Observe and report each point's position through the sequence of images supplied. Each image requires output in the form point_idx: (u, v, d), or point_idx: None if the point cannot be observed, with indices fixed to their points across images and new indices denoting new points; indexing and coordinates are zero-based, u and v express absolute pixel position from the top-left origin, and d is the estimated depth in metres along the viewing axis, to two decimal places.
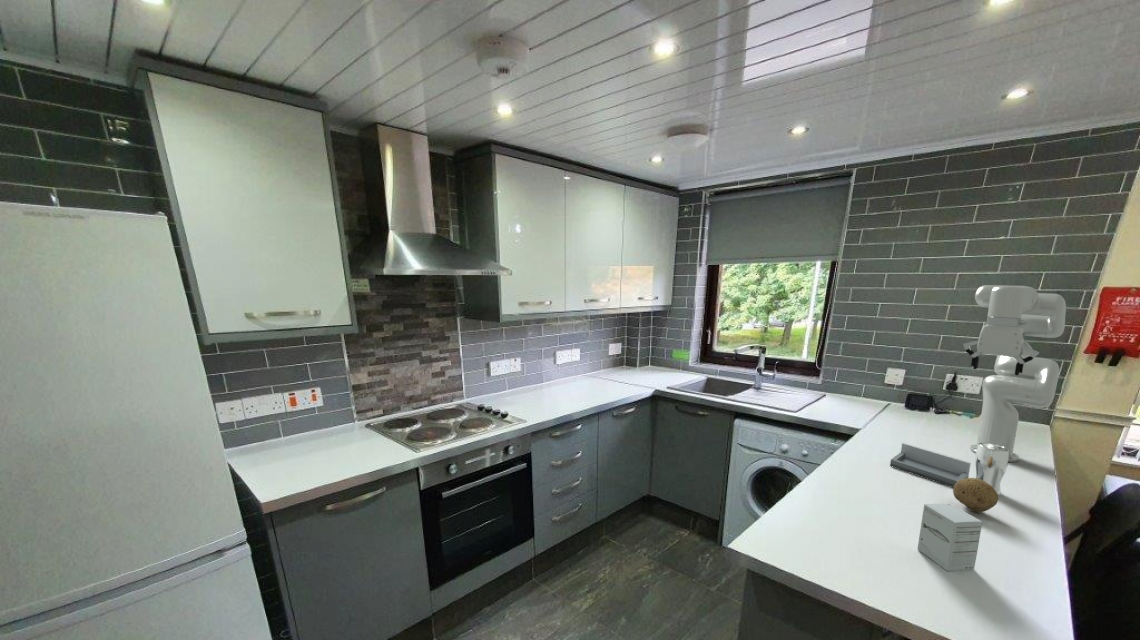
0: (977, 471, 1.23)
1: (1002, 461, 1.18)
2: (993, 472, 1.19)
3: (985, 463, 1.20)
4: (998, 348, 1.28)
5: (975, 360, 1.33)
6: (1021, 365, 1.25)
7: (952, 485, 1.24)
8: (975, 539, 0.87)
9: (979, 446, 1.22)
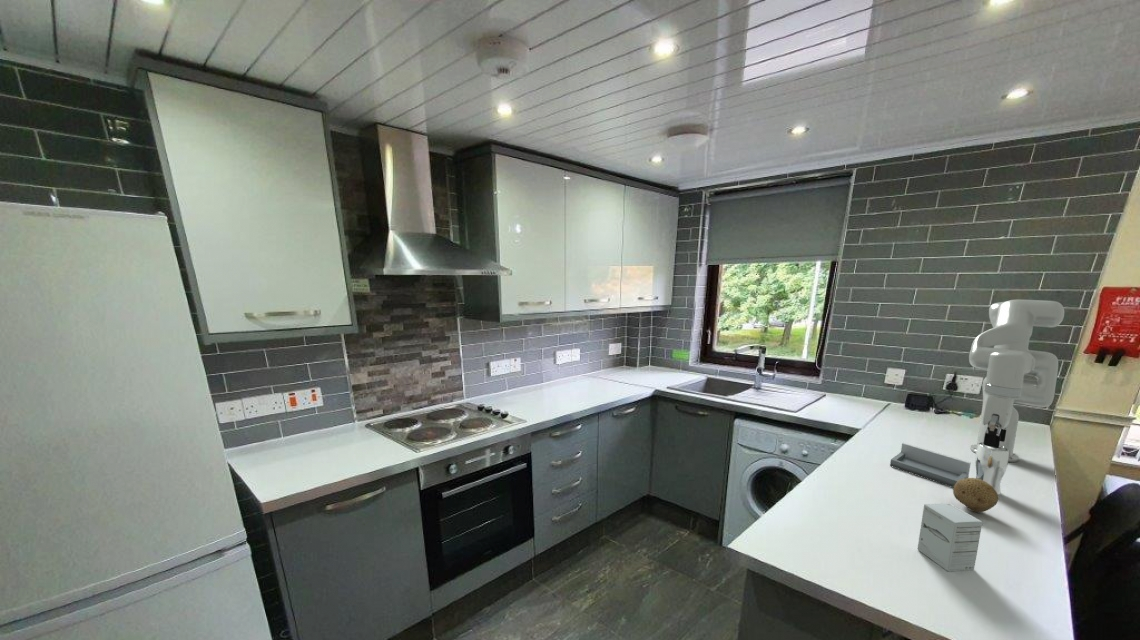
0: (977, 471, 1.23)
1: (1002, 461, 1.18)
2: (993, 472, 1.19)
3: (985, 463, 1.20)
4: (1009, 420, 1.17)
5: (1000, 438, 1.16)
6: None
7: (952, 485, 1.24)
8: (975, 539, 0.87)
9: (979, 446, 1.22)
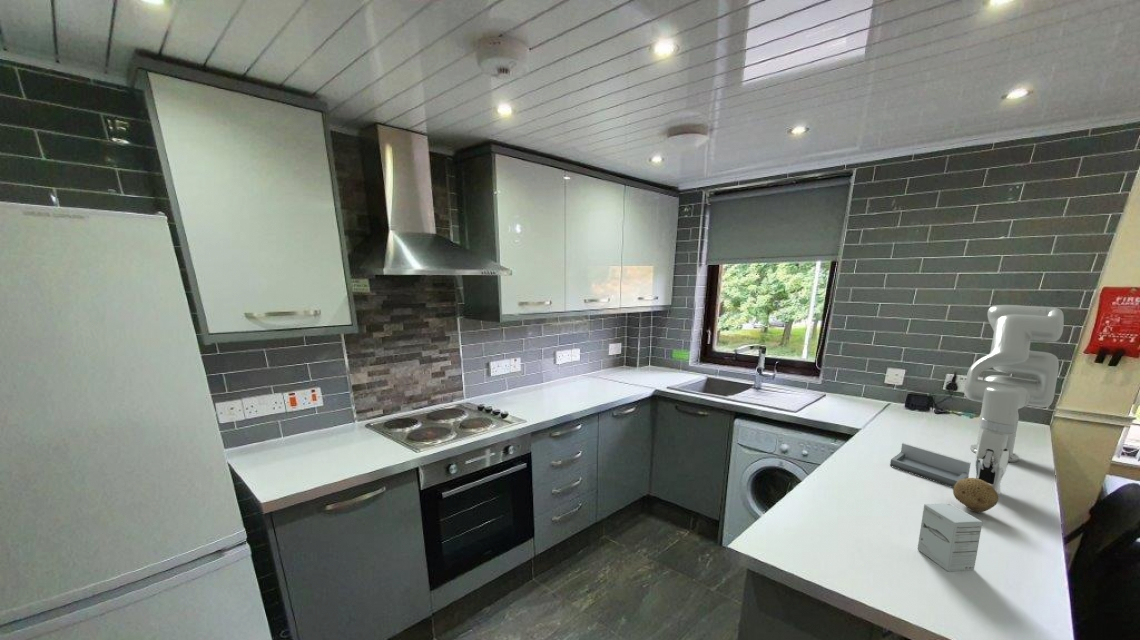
0: (977, 471, 1.23)
1: (1002, 461, 1.18)
2: None
3: None
4: None
5: (994, 475, 1.18)
6: None
7: (952, 485, 1.24)
8: (975, 539, 0.87)
9: None
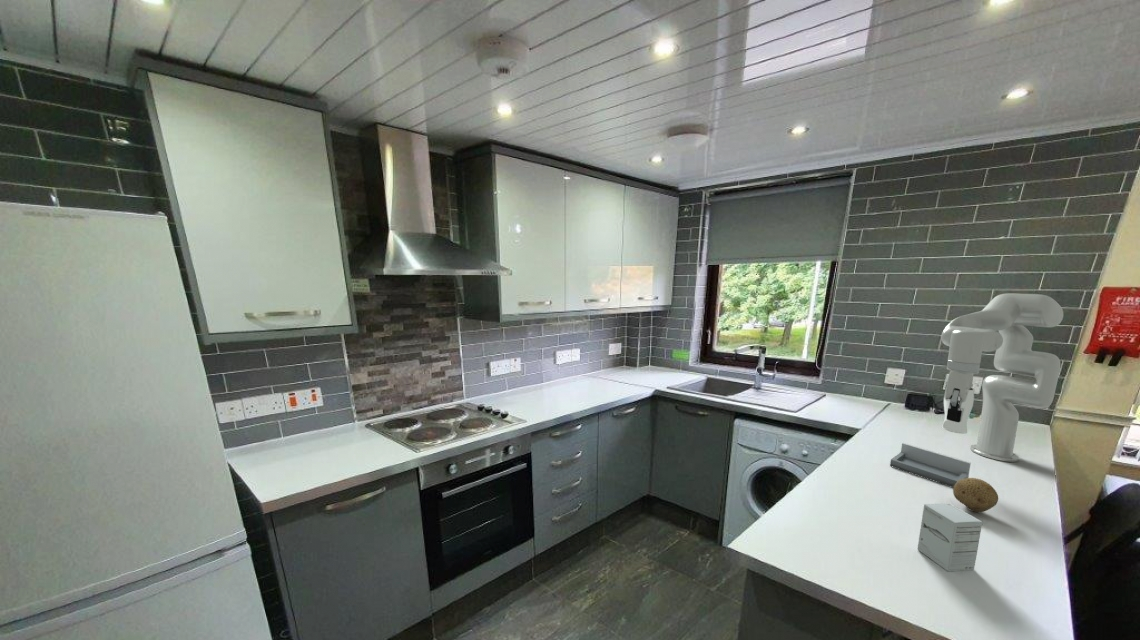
0: (945, 412, 1.28)
1: (968, 400, 1.23)
2: None
3: None
4: None
5: (961, 413, 1.24)
6: None
7: (952, 485, 1.24)
8: (975, 539, 0.87)
9: None
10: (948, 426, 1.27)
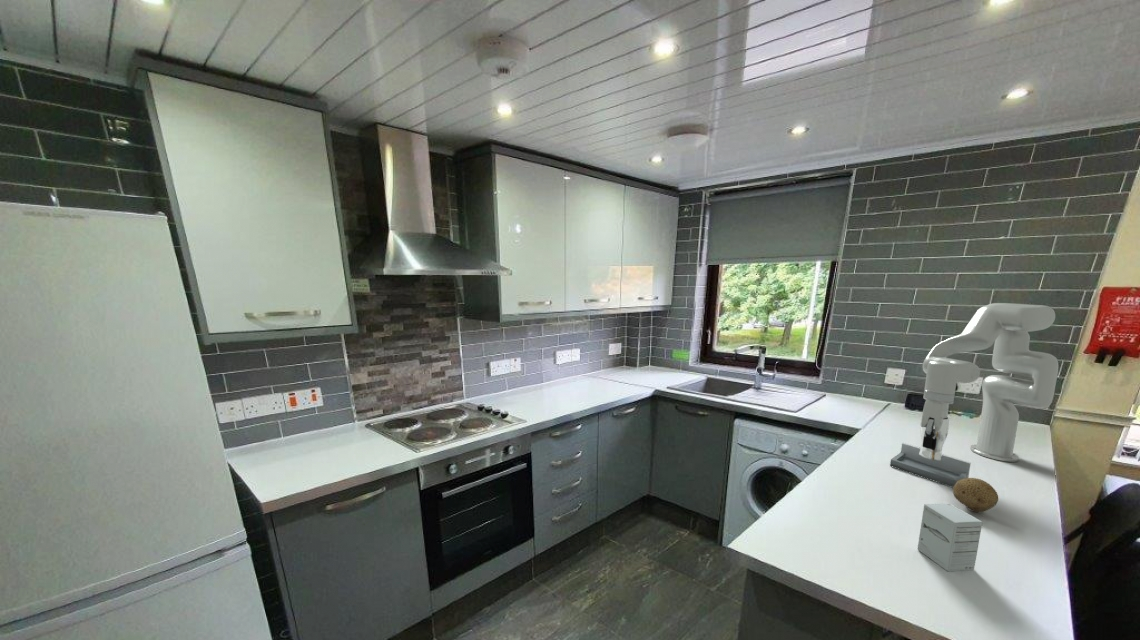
0: (922, 439, 1.33)
1: (943, 428, 1.28)
2: None
3: None
4: None
5: None
6: None
7: (952, 485, 1.24)
8: (975, 539, 0.87)
9: None
10: (924, 453, 1.32)
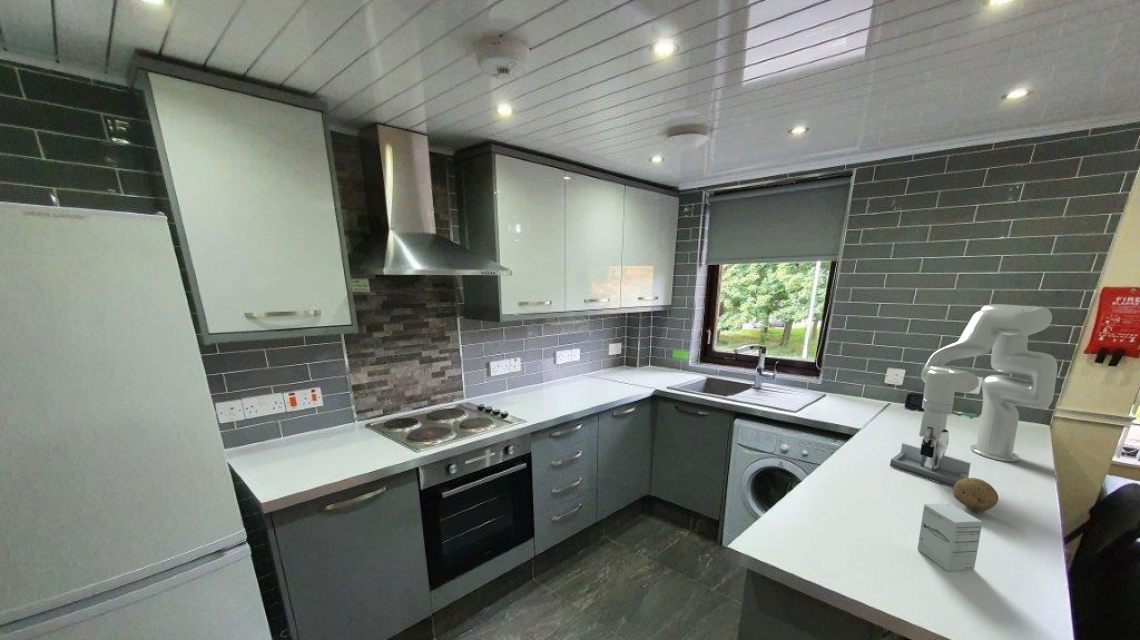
0: None
1: (943, 441, 1.29)
2: (934, 451, 1.30)
3: None
4: None
5: (933, 449, 1.28)
6: None
7: (952, 485, 1.24)
8: (975, 539, 0.87)
9: None
10: (924, 465, 1.33)
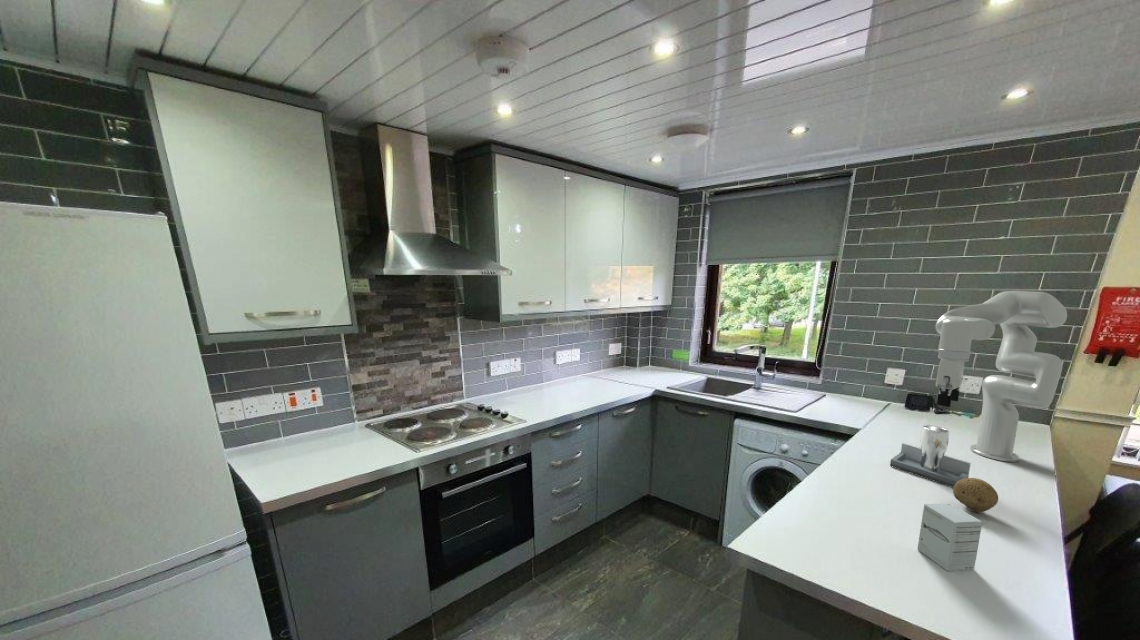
0: (922, 451, 1.34)
1: (943, 441, 1.29)
2: (934, 451, 1.30)
3: (928, 443, 1.31)
4: (960, 381, 1.28)
5: (951, 398, 1.27)
6: None
7: (952, 485, 1.24)
8: (975, 539, 0.87)
9: (923, 428, 1.33)
10: (924, 465, 1.33)
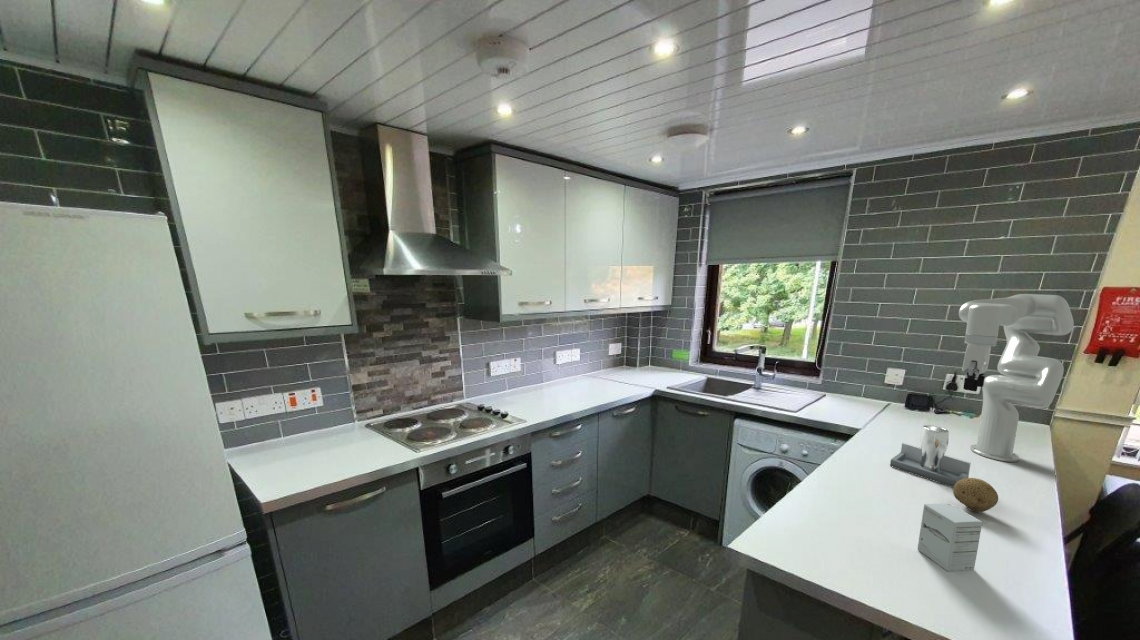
0: (922, 451, 1.34)
1: (943, 441, 1.29)
2: (934, 451, 1.30)
3: (928, 443, 1.31)
4: (986, 366, 1.29)
5: (978, 382, 1.28)
6: None
7: (952, 485, 1.24)
8: (975, 539, 0.87)
9: (923, 428, 1.33)
10: (924, 465, 1.33)
